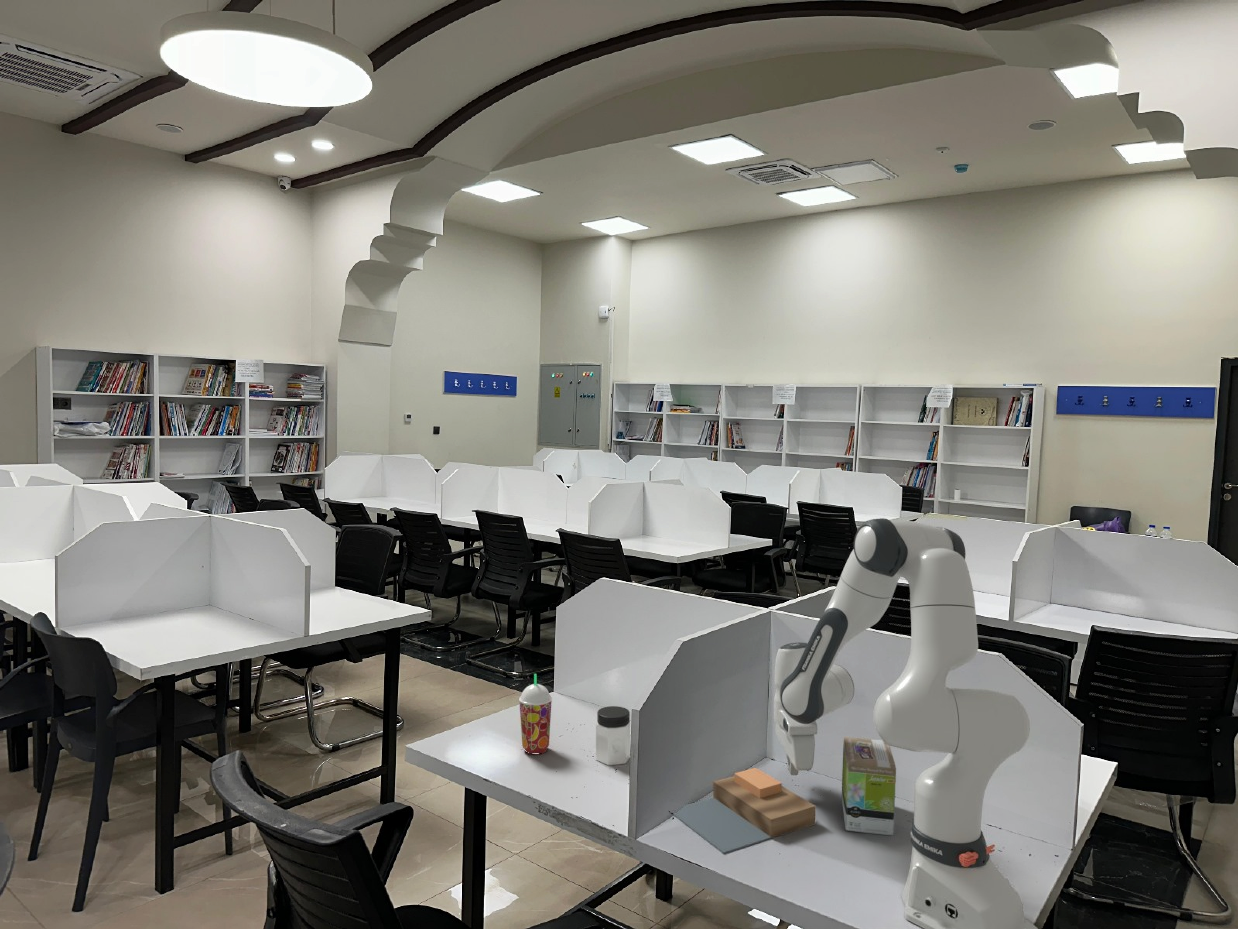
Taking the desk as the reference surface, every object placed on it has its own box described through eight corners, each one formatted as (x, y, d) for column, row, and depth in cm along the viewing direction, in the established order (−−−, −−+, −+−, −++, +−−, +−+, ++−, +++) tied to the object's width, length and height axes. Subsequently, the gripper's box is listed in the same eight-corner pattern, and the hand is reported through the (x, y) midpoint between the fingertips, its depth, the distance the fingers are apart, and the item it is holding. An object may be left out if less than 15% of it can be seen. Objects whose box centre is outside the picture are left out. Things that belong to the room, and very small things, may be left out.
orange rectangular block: (781, 792, 184) (781, 783, 184) (759, 798, 181) (760, 789, 181) (755, 776, 192) (755, 767, 191) (734, 782, 189) (734, 773, 188)
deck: (815, 824, 178) (815, 806, 177) (770, 838, 172) (771, 819, 171) (755, 787, 195) (755, 770, 195) (713, 798, 189) (713, 781, 189)
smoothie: (522, 743, 220) (521, 668, 218) (553, 744, 219) (553, 669, 218) (517, 757, 211) (516, 679, 210) (549, 757, 211) (549, 679, 210)
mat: (770, 838, 172) (770, 837, 172) (723, 854, 166) (723, 852, 166) (713, 798, 189) (713, 797, 189) (668, 811, 183) (668, 810, 183)
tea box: (895, 837, 173) (897, 767, 172) (844, 832, 175) (846, 762, 174) (887, 803, 187) (888, 738, 186) (840, 799, 189) (842, 735, 188)
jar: (599, 767, 206) (599, 719, 205) (592, 753, 213) (592, 707, 213) (634, 763, 208) (634, 716, 207) (626, 750, 216) (626, 704, 215)
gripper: (769, 697, 200) (768, 754, 201) (790, 730, 180) (789, 793, 181) (795, 697, 201) (794, 753, 202) (820, 730, 180) (818, 792, 181)
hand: (792, 772), depth 191 cm, fingers closed
